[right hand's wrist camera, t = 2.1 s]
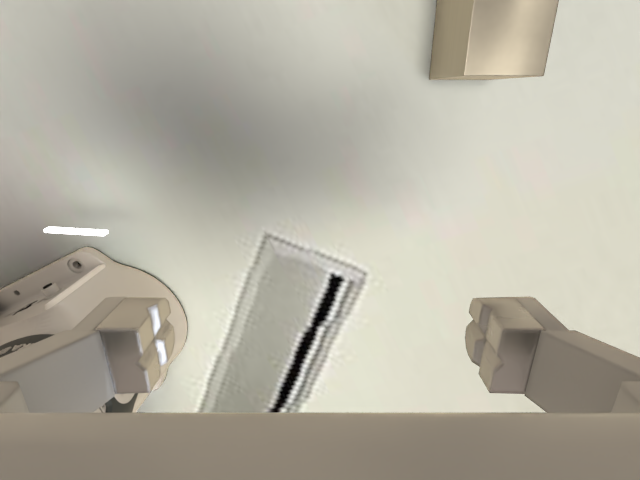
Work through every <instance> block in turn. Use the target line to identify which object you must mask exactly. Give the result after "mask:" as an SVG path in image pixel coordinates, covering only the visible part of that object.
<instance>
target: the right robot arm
mask: <svg viewBox="0 0 640 480" xmlns="http://www.w3.org/2000/svg"><path fill="white" fill-rule="evenodd" d="M44 233H60V234H77V235H94V236H105V235H107V234H108V230H98V229H81V228H64V227H47V228H45V229H44ZM77 262H79V263H80V264H81V266H80V265H79V264H78V263H77ZM469 313H470V315H471V316H472V318H473V320H472V321H471V322H470V323H469V325H468V326H467V327H466V334H465V342H466V349H467V352H468V355H469V357H470V359H471V361H472V362H473V363H475V364H476V365H478V366H479V367H480V369H479V375H480V377H481V379H482V380H483V382H484V384H485V386H486V387H487V389H488V391H489V393H513V394H525V396H526V397H527V398H529V399H530V400H531V401H533V402H534V403H535V404H537V405H538V406H539V407H540V408H542V409H543V410H544V411H546V412H547V413H136V412H137V410H138V409H139V407H140V406H141V405H142V403H143V402H144V401H145V399H146V398H147V396H148V395H149V394H150V393H151V391H152V390H156V389H158V388H159V387H160V386H161V385H162V383H163V382H164V380H165V378H166V375H167V370H168V367H169V365H170V364H171V363H172V361H173V360H174V359H175V358H176V357H177V356H178V355H179V353H180V352H181V350H182V348H183V347H184V344H185V341H186V337H187V322H186V317H185V314H184V311H183V309H182V307H181V305H180V303H179V301H178V300H177V298H176V297H175V296H174V294H173V293H172V292H171V291H170V290H169V289H168V288H167V287H166V286H165V285H164V284H163V283H161V282H160V281H159V280H157V279H156V278H154V277H153V276H151V275H149V274H147V273H145V272H143V271H141V270H138V269H135V268H132V267H129V266H125V265H122V264H119V263H116V262H114V261H113V260H111V259H110V258H108V257H107V256H106V255H104V254H103V253H101V252H100V251H98V250H96V249H94V248H91V247H83V248H81V249H79V250H77V251H75V252H73V253H71V254H69V255H67V256H65V257H63V258H61V259H59V260H57V261H55V262H53V263H51V264H49V265H47V266H45V267H43V268H41V269H39V270H37V271H35V272H33V273H31V274H29V275H27V276H26V277H24V278H22V279H20V280H18V281H16V282H14V283H12V284H10V285H8V286H6V287H4V288H2V289H0V480H640V358H639V357H637V356H634V355H632V354H630V353H627V352H625V351H623V350H620V349H618V348H615V347H613V346H611V345H608V344H606V343H604V342H601V341H599V340H596V339H594V338H592V337H589V336H587V335H585V334H582V333H580V332H577V331H569V330H568V329H567V328H566V327H565V326H564V325H563V324H562V323H561V322H559V321H558V320H557V319H556V318H555V317H554V316H553V315H552V314H551V313H550V312H549V311H548V310H547V309H546V308H545V307H544V306H543V305H542V304H540V303H539V302H538V301H537V300H536V299H535V298H533V297H494V298H473V300H472V302H471V304H470V309H469Z"/></svg>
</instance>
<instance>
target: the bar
mask: <svg viewBox="0 0 640 480" xmlns="http://www.w3.org/2000/svg"><path fill="white" fill-rule="evenodd" d="M558 2H559V0H437V5H436V15H435V25H434V35H433V45H432V56H431V66H430V76H429V80H493V79H508V78H522V77H536V76H544V71H545V66H546V62H547V57H548V52H549V47H550V42H551V37H552V32H553V27H554V22H555V17H556V12H557V7H558Z"/></svg>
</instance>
